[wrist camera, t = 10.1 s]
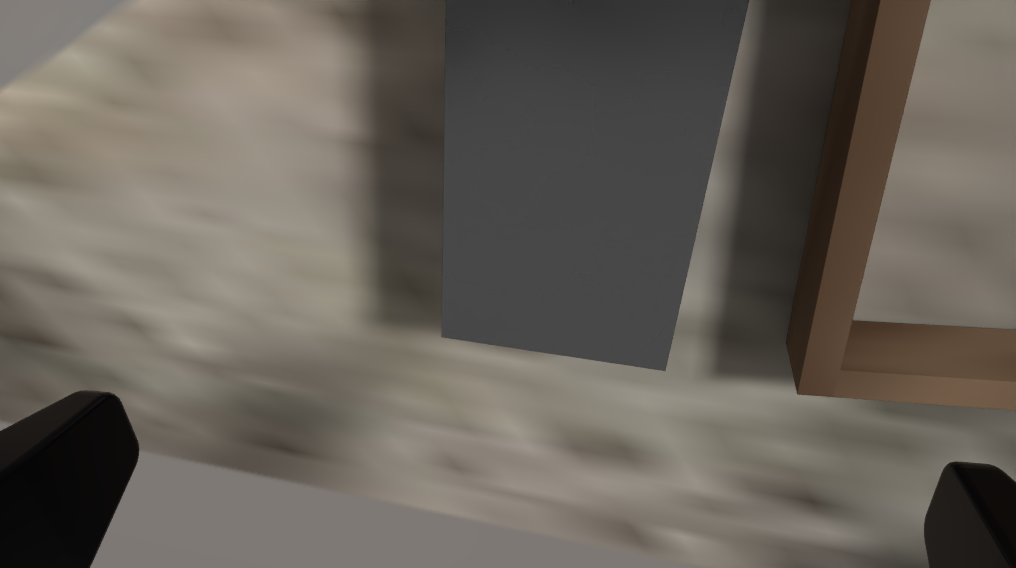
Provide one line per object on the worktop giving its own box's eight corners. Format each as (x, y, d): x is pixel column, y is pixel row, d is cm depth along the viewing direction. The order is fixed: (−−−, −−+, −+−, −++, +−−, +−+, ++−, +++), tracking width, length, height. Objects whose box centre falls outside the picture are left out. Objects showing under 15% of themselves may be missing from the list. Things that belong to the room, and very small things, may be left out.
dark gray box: (746, -108, 15) (767, -80, 12) (665, 283, 20) (664, 371, 17) (488, -131, 15) (447, -108, 12) (473, 256, 20) (441, 337, 17)
